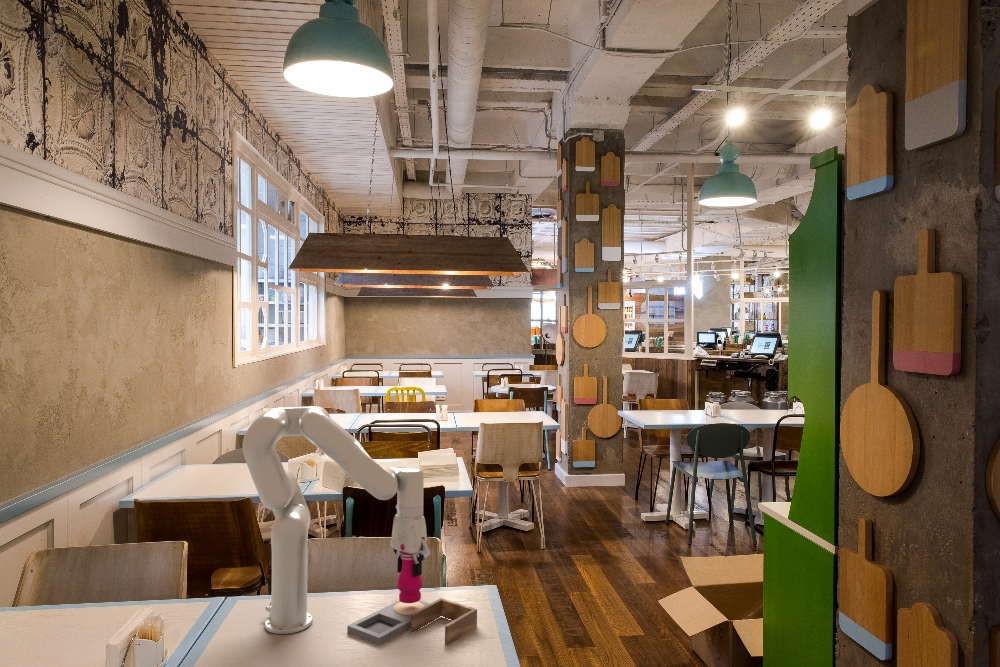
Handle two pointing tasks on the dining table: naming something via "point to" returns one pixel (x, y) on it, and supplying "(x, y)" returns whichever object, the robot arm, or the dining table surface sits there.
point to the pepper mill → (408, 580)
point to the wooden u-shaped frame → (457, 612)
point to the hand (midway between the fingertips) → (409, 572)
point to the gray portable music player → (385, 622)
